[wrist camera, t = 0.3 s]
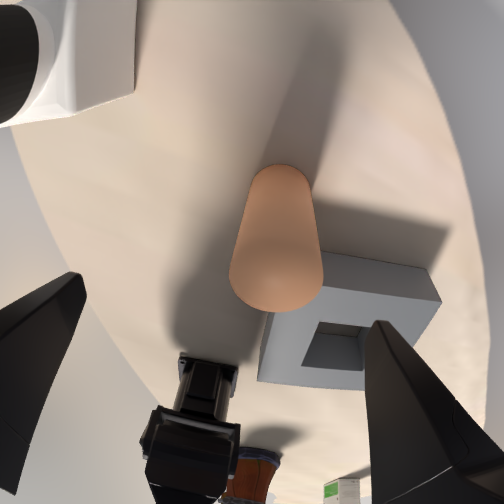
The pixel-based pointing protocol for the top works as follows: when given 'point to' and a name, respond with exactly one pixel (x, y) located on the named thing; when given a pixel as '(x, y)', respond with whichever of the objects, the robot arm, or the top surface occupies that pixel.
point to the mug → (251, 477)
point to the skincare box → (342, 492)
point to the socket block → (345, 322)
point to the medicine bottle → (64, 57)
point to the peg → (277, 243)
